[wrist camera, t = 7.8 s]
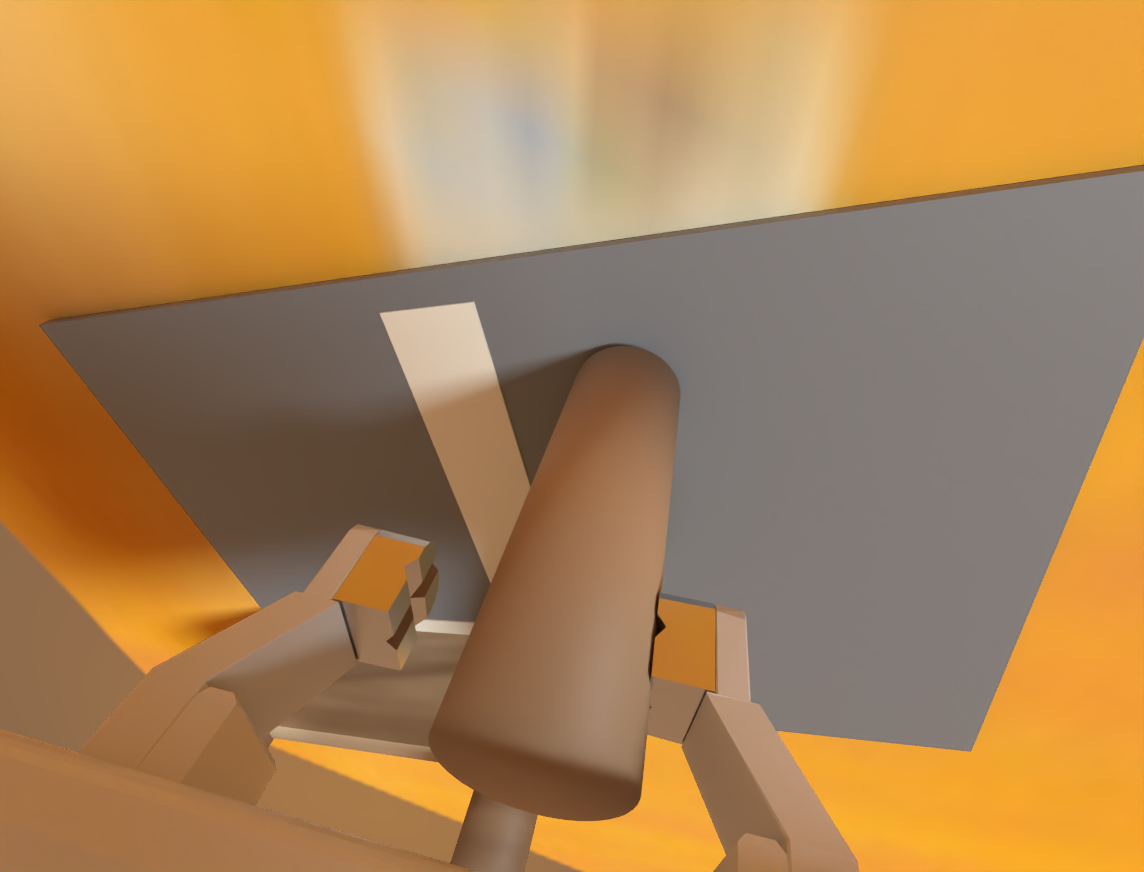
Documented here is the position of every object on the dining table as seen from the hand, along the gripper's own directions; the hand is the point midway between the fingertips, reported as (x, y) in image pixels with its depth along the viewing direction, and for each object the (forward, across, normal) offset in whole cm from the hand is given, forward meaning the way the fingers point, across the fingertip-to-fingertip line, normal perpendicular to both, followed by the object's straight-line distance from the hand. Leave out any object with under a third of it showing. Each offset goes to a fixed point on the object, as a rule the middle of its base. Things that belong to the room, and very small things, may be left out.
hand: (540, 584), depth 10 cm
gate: (+7, 0, +5) cm, 9 cm away
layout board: (+8, +2, +8) cm, 11 cm away
